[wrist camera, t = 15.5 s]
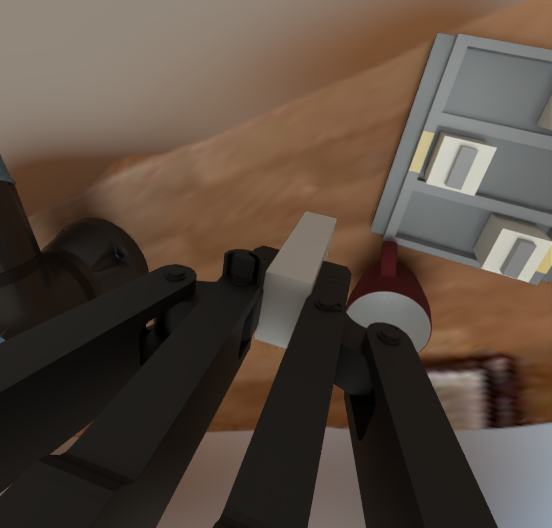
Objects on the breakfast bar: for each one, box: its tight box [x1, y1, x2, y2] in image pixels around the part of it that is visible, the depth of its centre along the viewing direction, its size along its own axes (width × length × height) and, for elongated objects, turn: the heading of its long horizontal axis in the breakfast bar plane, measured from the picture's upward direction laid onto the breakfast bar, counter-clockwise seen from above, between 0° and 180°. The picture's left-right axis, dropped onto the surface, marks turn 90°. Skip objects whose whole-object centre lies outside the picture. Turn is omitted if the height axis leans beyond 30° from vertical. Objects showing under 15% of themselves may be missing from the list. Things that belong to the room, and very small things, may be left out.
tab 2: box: [473, 213, 552, 282], centre depth 33 cm, size 4×4×6 cm
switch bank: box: [370, 33, 552, 285], centre depth 33 cm, size 18×18×4 cm
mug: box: [346, 241, 432, 353], centre depth 38 cm, size 11×8×10 cm
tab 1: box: [423, 131, 497, 196], centre depth 31 cm, size 4×4×6 cm
